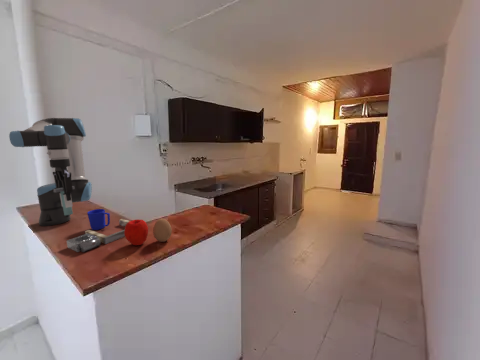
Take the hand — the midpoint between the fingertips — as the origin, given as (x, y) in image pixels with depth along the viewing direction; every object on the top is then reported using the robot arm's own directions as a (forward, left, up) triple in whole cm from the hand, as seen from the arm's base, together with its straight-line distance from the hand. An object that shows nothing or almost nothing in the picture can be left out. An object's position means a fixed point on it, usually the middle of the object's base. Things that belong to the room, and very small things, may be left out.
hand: (67, 206), depth 113 cm
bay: (+13, +14, -17) cm, 25 cm away
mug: (0, +14, -17) cm, 22 cm away
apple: (+36, +11, -17) cm, 42 cm away
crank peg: (0, 0, -4) cm, 4 cm away
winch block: (+16, -2, -17) cm, 23 cm away
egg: (+44, +19, -17) cm, 51 cm away
